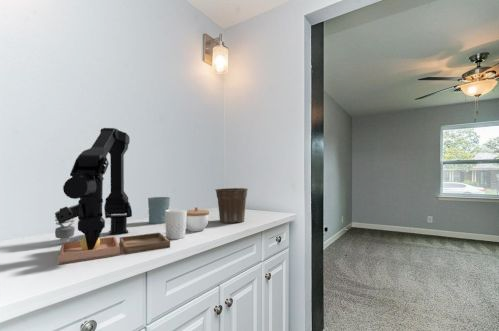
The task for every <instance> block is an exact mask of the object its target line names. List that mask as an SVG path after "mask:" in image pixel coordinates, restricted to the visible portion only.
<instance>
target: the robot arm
mask: <svg viewBox="0 0 499 331" xmlns="http://www.w3.org/2000/svg"><path fill="white" fill-rule="evenodd" d="M130 140H131V139H130V135H129V134H128V133H126V132H124V131H122V130H119V129H118V128H116V127H103V128H102V127H101V129H100V133H99V135H98V136H97V138H96V140H95V141H94V143H93V144H92V145H91V147H90V148H88V149H85V150H83V151H82V152H81V153H80V154H78V156H77V158H76V159H75V161H74V164H73V165H72V168H71V171H70V173H69V174H70V175H69V176H70V177H69V178H68V179H67V180H66V181H65V182H64V184H63V186H62V190H63V193H64V194H65V196H66V197H67V198H70V199H74V200H77V199H78V203H77V204H75V205H72V206H69V207H68V206H64V207H62V208H59V210H58V211H56V212H55V213H54V215H55V216H56V218H55V219H57V220H58V221H57V222H59V224H61V223H64V222H65V221H67V220H70V219H73V218H75V219H76V218H78V221H77V231H79V232H81V233H82V234H84V236H85V238H86V243H87V247H88V250H93V249H94V246H95V244H96V242H97V240H98V238H100V236H101V233H102V232H103V230H104V229H105V228H106V226H105V225H106V223H105V222H106V221H105V219H110V230H108V233H109V236H113V235H120V234H128V233H129V230H128V228H127V227H128V226H127V224H128V223H127V221H128V220H127V219H128V218H131V217H132V216H133V212H132V211H133V210H132V206H131V204H130V201H129V197H128V195H127V193H126V192H125V188H124V186H125V179H124V178H125V177H124V176H125V175H124V171H125V170H124V169H125V168H124V167H125V166H124V165H125V163H124V162H125V161H124V159H125V158H124V157H125V153H126V152H127V151H128V149H129V145H130V142H131V141H130ZM108 154H109V155H110V156H109V157H110V160H109V161H110V162H109V161H108V158H107V156H108ZM109 164H110V168H109ZM108 168H109V169H110V193H109V194H108V196H107V197H106V198H105V201H104V200H103V186H104V183H103V182H104V180H105V178H104V175H105V174H106V172H107V170H108ZM104 202H105V203H104ZM103 203H104V212H103ZM103 213H104V217H105V219H104V218H103ZM55 216H54V217H55ZM64 224H65V223H64Z"/></svg>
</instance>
